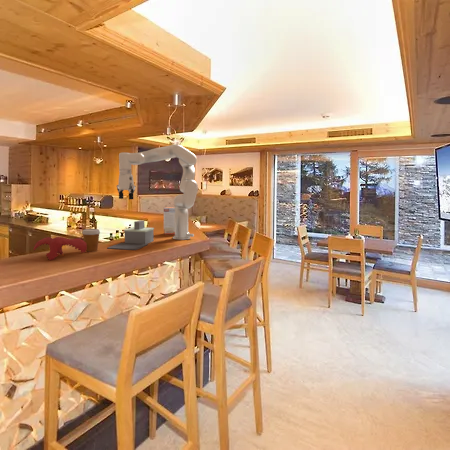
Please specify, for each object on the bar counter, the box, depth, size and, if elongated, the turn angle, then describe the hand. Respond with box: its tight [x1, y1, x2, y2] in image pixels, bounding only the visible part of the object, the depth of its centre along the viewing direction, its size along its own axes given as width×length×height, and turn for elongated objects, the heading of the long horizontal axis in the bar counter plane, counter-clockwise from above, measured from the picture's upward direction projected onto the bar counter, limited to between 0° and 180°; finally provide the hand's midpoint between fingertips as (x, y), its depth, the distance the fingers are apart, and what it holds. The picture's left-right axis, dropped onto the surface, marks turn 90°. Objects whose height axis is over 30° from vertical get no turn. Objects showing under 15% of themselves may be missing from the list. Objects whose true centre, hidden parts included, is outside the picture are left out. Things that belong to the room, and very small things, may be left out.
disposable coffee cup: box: [81, 228, 101, 253], centre depth 188 cm, size 10×10×12 cm
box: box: [124, 230, 154, 245], centre depth 219 cm, size 14×14×8 cm
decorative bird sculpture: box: [32, 236, 87, 261], centre depth 169 cm, size 28×9×15 cm
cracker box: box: [163, 206, 175, 236], centre depth 257 cm, size 14×6×21 cm, turn 84°
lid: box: [123, 220, 155, 232], centre depth 218 cm, size 15×15×7 cm
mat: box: [106, 242, 149, 251], centre depth 203 cm, size 18×18×1 cm
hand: (126, 199), depth 214 cm, fingers open, 9 cm apart
